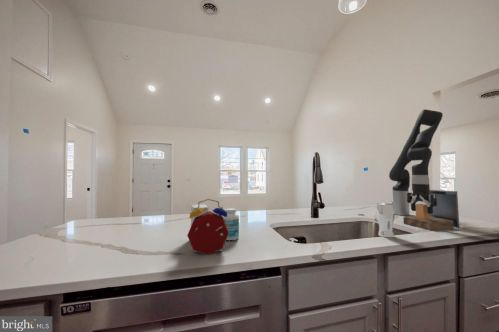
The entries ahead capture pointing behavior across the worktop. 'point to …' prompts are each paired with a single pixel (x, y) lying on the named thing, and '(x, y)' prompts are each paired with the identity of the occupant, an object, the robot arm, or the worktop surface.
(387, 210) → the beer glass
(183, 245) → the worktop surface
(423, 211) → the peg
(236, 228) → the pill bottle
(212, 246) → the alarm clock
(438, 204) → the thin grey panel
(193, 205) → the skincare box
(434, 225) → the socket block
